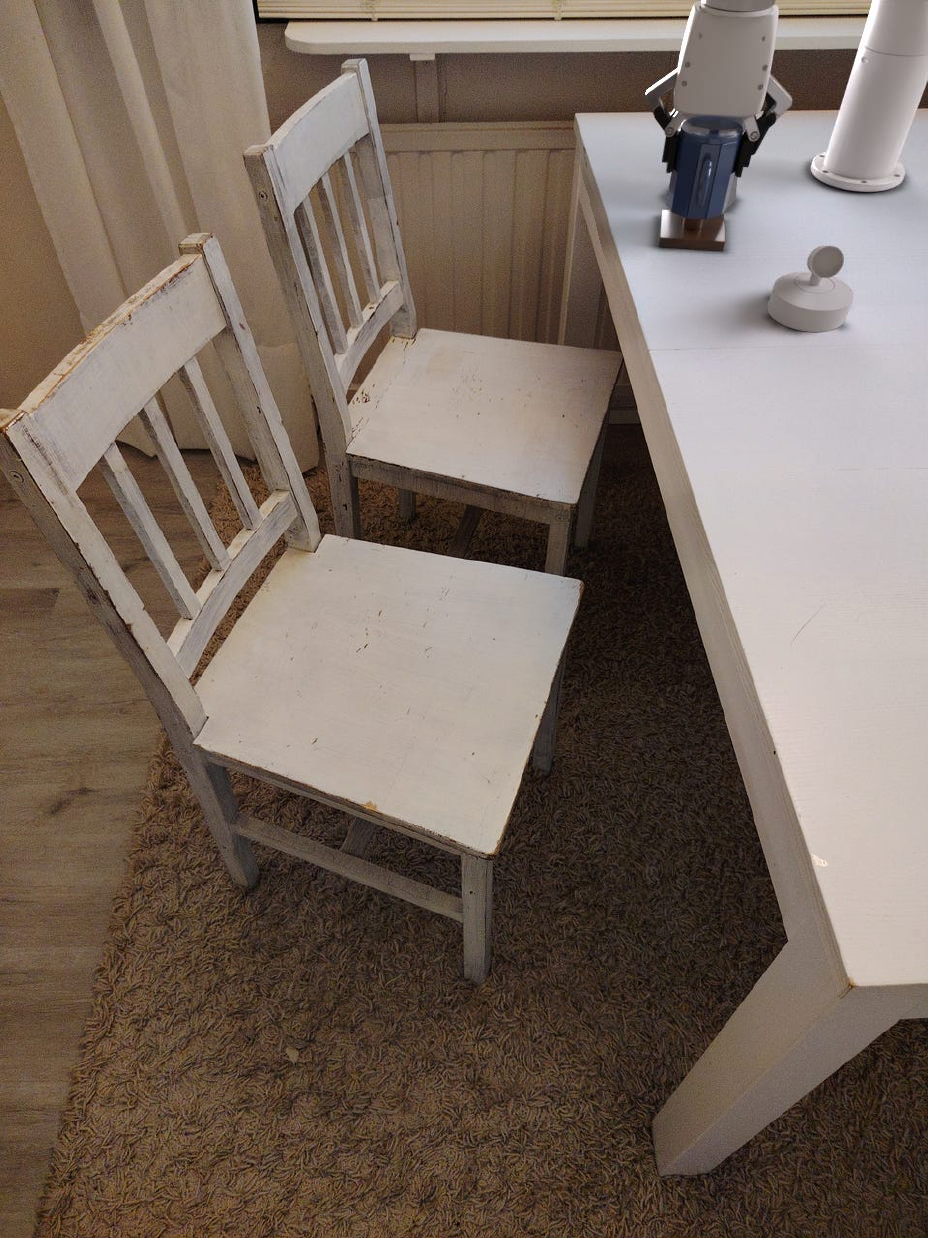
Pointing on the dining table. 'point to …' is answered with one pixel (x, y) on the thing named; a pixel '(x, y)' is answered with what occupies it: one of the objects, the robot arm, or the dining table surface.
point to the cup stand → (691, 232)
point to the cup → (704, 167)
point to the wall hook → (813, 294)
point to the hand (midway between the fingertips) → (703, 169)
